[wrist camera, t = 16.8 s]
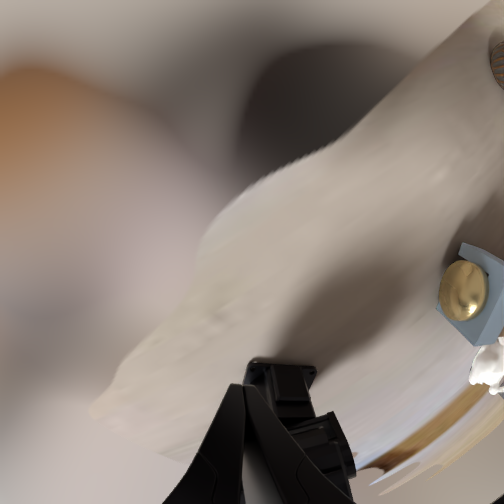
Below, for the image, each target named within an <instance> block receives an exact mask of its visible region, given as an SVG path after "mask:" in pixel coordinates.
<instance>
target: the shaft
mask: <svg viewBox="0 0 504 504" xmlns="http://www.w3.org/2000/svg"><path fill="white" fill-rule="evenodd" d="M488 297H489V280H488V277H487V274H486V272H485V271H484V269H483V268H482V267H481V266H480V265H478V264H476V263H472V262H469V261H465V260H460V261H456V262H454V263H453V264H451V265H450V266H449V267H448V269H447V270H446V271H445V273H444V275H443V277H442V280H441V283H440V289H439V300H440V305H441V308H442V310H443V312H444V314H445V315H446V316H447V317H448V318H449V319H451V320H455V321H469V320H472V319H474V318H476V317H477V316H478V315H480V313H481V312H482V311H483V309H484V308H485V306H486V303H487V300H488Z"/></svg>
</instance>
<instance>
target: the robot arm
mask: <svg viewBox="0 0 504 504" xmlns="http://www.w3.org/2000/svg"><path fill="white" fill-rule="evenodd" d="M251 368H254V369H251ZM311 371H312V372H311ZM316 374H317V370H316V367H314V366H295V365H278V364H264V363H249V364H248V365H247V368H246V372H245V376H244V380H243V383H242V385H241V384H233V383H231V384H230V385H229V387H228V389H227V392H226V394H225V396H224V398H223V400H222V402H221V404H220V406H219V408H218V411H217V413H216V415H215V417H214V419H213V421H212V423H211V425H210V427H209V429H208V431H207V433H206V435H205V437H204V439H203V441H202V443H201V445H200V447H199V449H198V452H197V453H196V455H195V457H194V459H193V461H192V463H191V465H190V466H189V468H188V470H187V472H186V473H185V475H184V476H183V478H182V479H181V480H180V482H179V483H178V484H177V486H176V487H175V488H174V489H173V491H172V492H171V493H170V494H169V496H168V497H167V498H166V499H165V501H164V502H163V503H162V504H356V503H355V502H354V501H353V497H352V493H351V489H350V485H349V481H348V479H352V478H354V477H356V468H355V463H354V459H353V456H352V452H351V449H350V447H349V444H348V442H347V439H346V437H345V435H344V433H343V431H342V429H341V426H340V424H339V422H338V420H337V418H336V416H335V414H334V412H333V411H332V412H328V413H327V414H325V415H322V416H319V417H316V415H315V412H314V408H313V405H312V402H311V397H310V394H309V389H310V387H311V385H312V383H313V380H314V378H315V376H316ZM491 504H504V494H503V495H501V496H500V497H499V498H497V499H496V500H495V501H493V502H492V503H491Z"/></svg>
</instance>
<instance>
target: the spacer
mask: <svg viewBox="0 0 504 504" xmlns="http://www.w3.org/2000/svg"><path fill="white" fill-rule="evenodd" d="M458 255H460V256H461V257H463V258H465V259H466V260H468V261H469V262H472V263H476V264H478V265H480V266H481V267H482V268H483V269H484V271H485V272H487V273H488V274H489V276H488V280H489V297H488V300H487V303H486V306H485V308H484V309H483V311H482V312H481V313H480V315H478V316H477V317H476V318H474V319H472V320H469V321H455V320H451V319H449V318H448V317H447V316H446V315H445V314H444V312H443V310H442V308H441V305H440V301H439V303H438V305H437V308H436V309H437V310H438V311H439V312H440V313H441V314H442V315H443V316H444V317H445V318H446V319H447V320H448V321H449V322H450V323H451V324H452V325H453V326H454V327H455V328H456V329H457V330H458V331H459V332H460V333H461V334H462V335H463V336H464V337H465V338H466V339H467V340H468V341H469V342H470V343H471V344H472V345H473V346H482V345H490V344H494V343H495V342H496V340H497V338H498V336H499V334H500V333H501V331H502V329H503V327H504V261H503V260H501V259H499V258H498V257H496V256H494V255H493V254H491V253H489V252H487V251H485V250H484V249H481V248H478V247H476V246H473V245H470V244H467V243H464V242H462V245H461V248H460V251H459V253H458Z"/></svg>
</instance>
